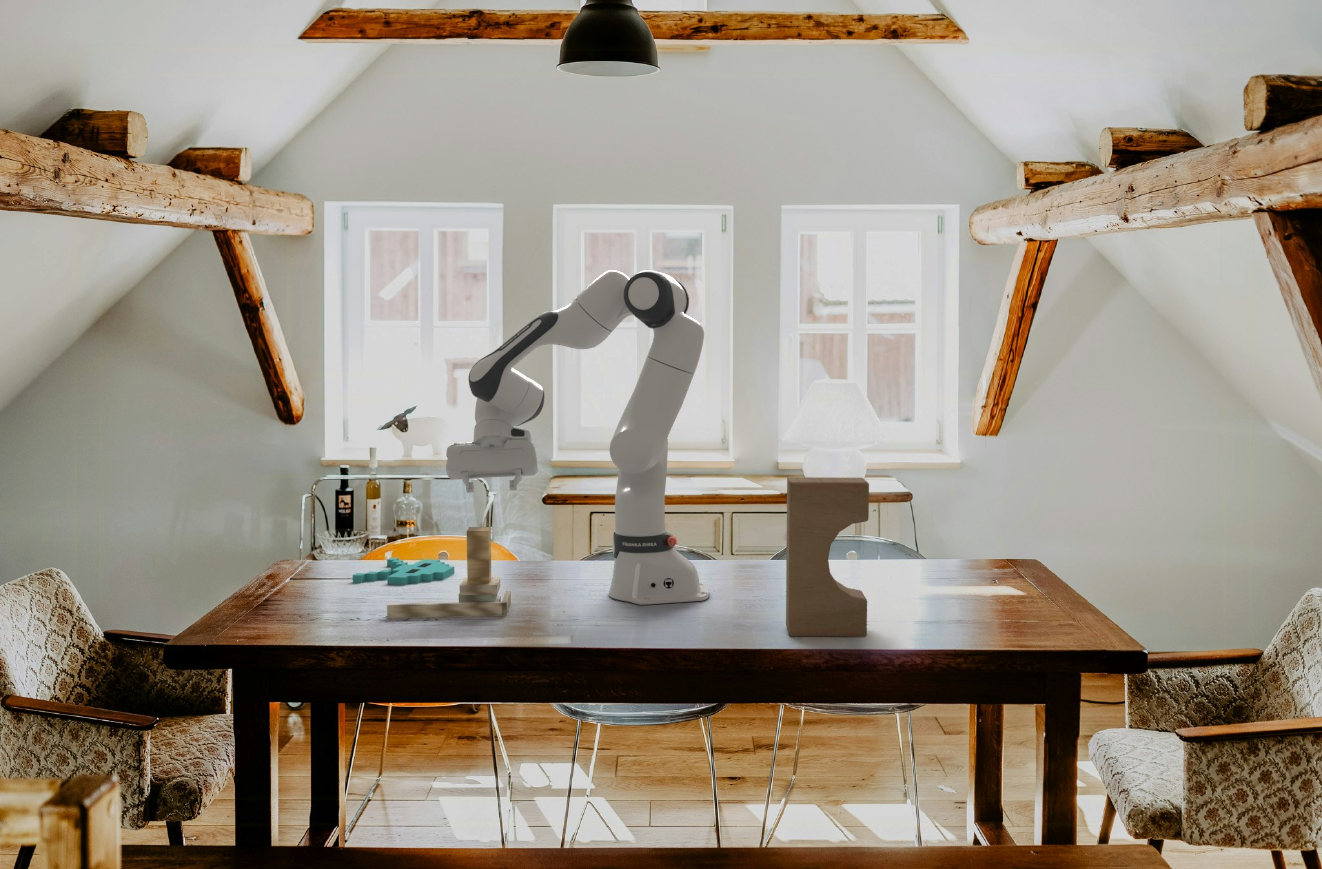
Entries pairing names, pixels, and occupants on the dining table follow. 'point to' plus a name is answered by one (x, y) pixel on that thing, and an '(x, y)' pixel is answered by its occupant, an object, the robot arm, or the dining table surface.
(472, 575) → the oak post
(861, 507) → the decorative block
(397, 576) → the alien figure
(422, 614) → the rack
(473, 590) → the offcut stack
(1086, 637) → the dining table surface
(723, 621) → the dining table surface
